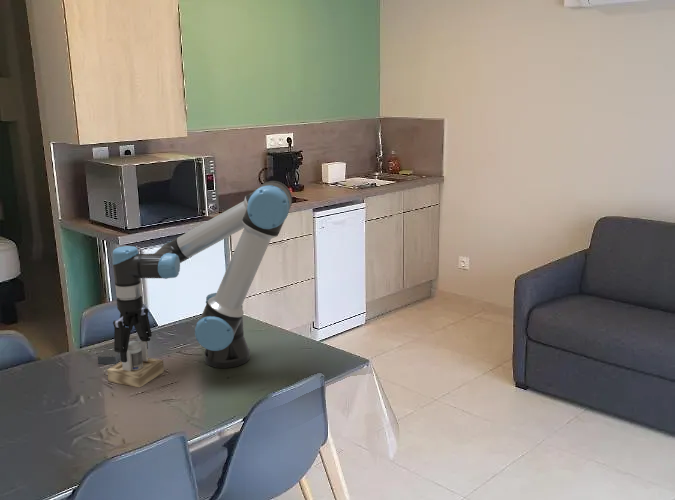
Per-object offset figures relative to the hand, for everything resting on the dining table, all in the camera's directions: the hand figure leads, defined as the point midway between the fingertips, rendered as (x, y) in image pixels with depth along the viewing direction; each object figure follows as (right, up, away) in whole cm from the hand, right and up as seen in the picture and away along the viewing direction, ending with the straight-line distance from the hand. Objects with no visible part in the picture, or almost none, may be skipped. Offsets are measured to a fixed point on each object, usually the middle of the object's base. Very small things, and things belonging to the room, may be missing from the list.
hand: (135, 365), depth 203 cm
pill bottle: (0, -1, 0) cm, 1 cm away
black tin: (-13, -1, +14) cm, 19 cm away
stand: (0, -4, +1) cm, 4 cm away
